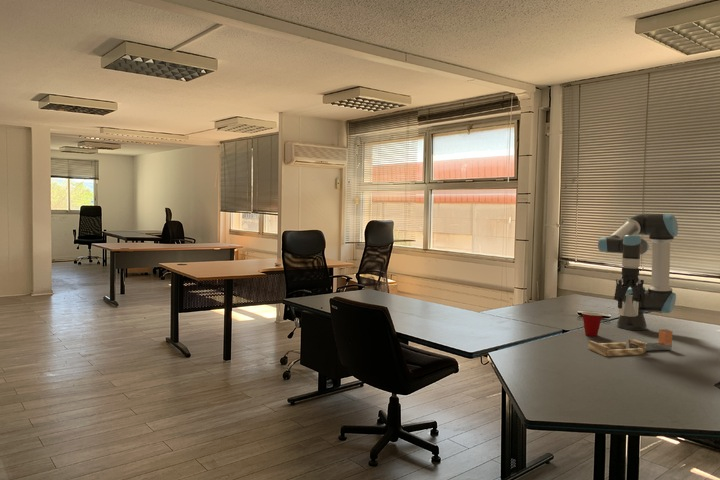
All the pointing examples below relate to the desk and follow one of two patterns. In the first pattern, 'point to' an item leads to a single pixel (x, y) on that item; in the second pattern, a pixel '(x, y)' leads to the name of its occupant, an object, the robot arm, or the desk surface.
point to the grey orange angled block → (659, 342)
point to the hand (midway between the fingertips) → (628, 315)
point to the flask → (629, 307)
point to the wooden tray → (617, 348)
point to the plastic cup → (591, 323)
